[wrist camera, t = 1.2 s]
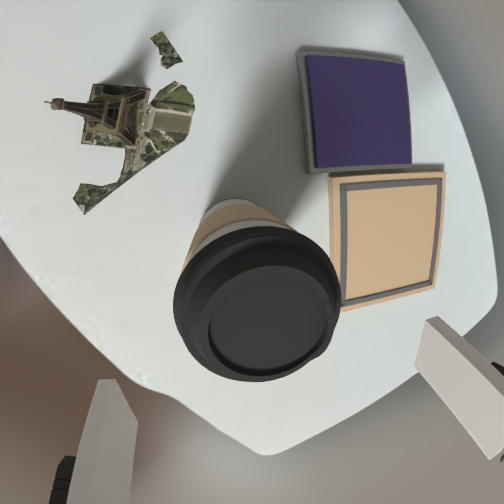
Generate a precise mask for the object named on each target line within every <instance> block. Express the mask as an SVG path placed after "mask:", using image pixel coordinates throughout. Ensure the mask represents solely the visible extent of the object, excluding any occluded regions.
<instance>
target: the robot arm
mask: <svg viewBox="0 0 504 504" xmlns="http://www.w3.org/2000/svg"><path fill="white" fill-rule="evenodd" d="M414 366H415V368H416V369H417V370H418V371H419V372H420V374H421V375H422V376H423V377H424V378H425V379H426V381H427V382H428V383H429V384H430V385H431V387H432V388H433V389H434V390H435V392H436V393H437V394H438V395H439V396H440V398H441V399H442V400H443V401H444V403H445V404H446V405H447V406H448V408H449V409H450V410H451V411H452V412H453V413H454V415H455V416H456V417H457V419H458V420H459V421H460V423H461V424H462V425H463V426H464V428H465V429H466V430H467V431H468V433H469V434H470V435H471V437H472V438H473V439H474V441H475V442H476V443H477V444H478V446H479V447H480V448H481V450H482V451H483V452H484V454H485V455H486V456H487V458H488V459H489V460H490V459H492V458H493V457H494V456H496V455H497V454H498V453H499V452H501V451H502V449H503V448H504V367H503V366H501V365H499V364H497V363H495V362H493V363H491V364H490V363H489V362H488V361H487V360H486V359H485V358H484V357H483V356H482V355H481V354H480V353H479V352H478V351H476V350H475V349H474V348H473V347H472V346H471V345H470V344H469V343H468V342H467V341H465V340H464V339H463V338H462V337H461V336H460V335H459V334H458V333H457V332H456V331H454V330H453V329H452V328H451V327H450V326H449V325H448V324H446V323H445V322H444V321H443V320H442V319H441V318H440V317H438V316H436V317H433V318H430V319H427V320H425V324H424V328H423V333H422V337H421V341H420V346H419V350H418V353H417V357H416V361H415V365H414ZM137 426H138V421H137V420H136V418H135V416H134V414H133V412H132V411H131V409H130V407H129V405H128V403H127V401H126V399H125V397H124V395H123V393H122V391H121V389H120V387H119V385H118V383H117V381H116V379H106V380H99V381H98V384H97V387H96V390H95V393H94V397H93V400H92V403H91V406H90V410H89V413H88V416H87V420H86V423H85V427H84V430H83V434H82V438H81V442H80V446H79V449H78V453H77V457H73V456H65V457H64V458H63V460H62V461H61V462H60V464H59V465H58V467H57V472H56V475H55V480H54V483H53V489H52V492H51V496H50V500H49V504H129V501H130V489H131V477H132V468H133V458H134V450H135V441H136V433H137ZM503 460H504V454H503V456H502V457H501V460H500V462H502V461H503Z"/></svg>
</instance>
